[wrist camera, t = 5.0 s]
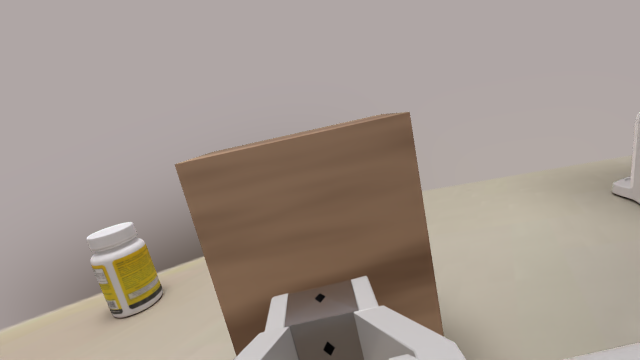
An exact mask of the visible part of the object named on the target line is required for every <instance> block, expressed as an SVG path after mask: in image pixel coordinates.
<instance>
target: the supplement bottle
mask: <svg viewBox="0 0 640 360" xmlns="http://www.w3.org/2000/svg"><path fill="white" fill-rule="evenodd" d="M136 236H137V231H136V229H135V227H134V224H133V223H132V222H126V223H121V224H117V225H114V226H111V227H108V228H105V229H102V230H100V231H97V232H95V233H93V234H91V235H89V236H88V237H87V238H86V240H87V243H88V245H89V249H90V250H91V252H95V254H94V255H93V256H92V257H91V260H90V262H91V266H92V268H93V270H94V272H95V275H96V277H97V280H98V282H99V285H100V287H101V289H102V292H103V294H104V296H105V299H106V301H107V303H108V306H109V308H110V311H111V313H112V315H113V316H115V317H118V318H121V317H127V316H130V315H133V314H136V313H138V312H141V311H143V310H145V309H147V308H148V307H150V306H151V305H153V304H154V303H155V302H156V301H158V299H159V298H160V297H161V295H162V293H163V290H162V286H161V284H160V281H159V278H158V276H157V273H156V270H155V268H154V265H153V263H152V260H151V257H150V255H149V252H148V249H147V246H146V244H145V242H144V241H143V240H142V239H140V238H136Z"/></svg>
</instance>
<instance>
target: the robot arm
mask: <svg viewBox="0 0 640 360" xmlns="http://www.w3.org/2000/svg"><path fill="white" fill-rule="evenodd" d="M612 192H613V193H615V194H618V195H620V196H624V197H627V198H630V199H633V200H635V201H637V202H638V203H639V204H640V112H639V113H638V114H637V116H636V121H635V131H634V143H633V155H632V168H631V176H629V177H626V178H623V179H620V180H618V181H615V182H613V185H612ZM234 360H466V359H465V357H464V355H463V354H462V352H461V351H460V349H459V348H458V346H457V345H456V343H455V342H453V341H451V340H449V339H447V338H445V337H443V336H441V335H439V334H438V333H436V332H434V331H432V330H430V329H428V328H426V327H424V326H422V325H420V324H418V323H416V322H414V321H413V320H411V319H409V318H407V317H405V316H403V315H401V314H399V313H397V312H395V311H393V310H391V309H389V308H388V307H386V306H378V303H377V300H376V298H375V295H374V293H373V290H372V287H371V285H370V282H369V279H368V277H367V276H362V277H359V278H355V279H351V280H347V281H343V282H339V283H335V284H331V285H327V286H323V287H317V288H312V289H307V290H302V291H297V292H292V293H289V294H288V293H287V294H282V295H278V296H274V297H273V298H272V299H271V303H270V308H269V313H268V318H267V322H266V327H265V332H262V333H259V334H258V335H257V336H256V337H255V338H254V339H253V340H252V341H251V342H250V343H249V344H248V345H247V346H246V347H245V348H244V349H243V350H242V352H241V353H240V354H239V355H238V356H237V357H236V358H235V359H234ZM562 360H640V342H638V343H634V344H629V345H625V346H620V347H616V348H611V349H607V350H602V351H598V352H593V353H589V354H584V355H580V356H575V357H571V358H566V359H562Z"/></svg>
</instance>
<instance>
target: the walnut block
mask: <svg viewBox="0 0 640 360" xmlns="http://www.w3.org/2000/svg"><path fill="white" fill-rule="evenodd" d="M175 167H176V170H177V173H178V176H179V179H180V182H181V185H182V188H183V192H184V195H185V198H186V201H187V204H188V207H189V210H190V213H191V216H192V219H193V223H194V226H195V229H196V232H197V235H198V238H199V241H200V244H201V247H202V250H203V253H204V257H205V260H206V263H207V266H208V269H209V272H210V275H211V278H212V281H213V284H214V288H215V291H216V294H217V297H218V300H219V303H220V306H221V309H222V312H223V315H224V318H225V322H226V325H227V328H228V331H229V334H230V337H231V340H232V343H233V346H234V349H235V352H236V356H238V355H239V354H240V353H241V352H242V350H243V349H244V348H245V347H246V346H247V345H248V344H249V343H250V342H251V341H252V340H253V339H254V338H255V337H256V336H257V335H258V334H259V333H262V332H265V327H266V322H267V318H268V313H269V308H270V303H271V299H272V298H273V297H274V296H278V295H282V294H287V293H288V294H289V293H292V292H297V291H302V290H307V289H312V288H317V287H323V286H327V285H331V284H335V283H339V282H343V281H347V280H351V279H355V278H359V277H362V276H367V277H368V279H369V282H370V285H371V287H372V290H373V293H374V295H375V298H376V300H377V303H378V306H386V307H388V308H389V309H391V310H393V311H395V312H397V313H399V314H401V315H403V316H405V317H407V318H409V319H411V320H413V321H414V322H416V323H418V324H420V325H422V326H424V327H426V328H428V329H430V330H432V331H434V332H436V333H438V334H439V335H441V336H443V337H444V335H443V328H442V321H441V315H440V308H439V302H438V295H437V289H436V282H435V276H434V269H433V263H432V256H431V249H430V243H429V236H428V230H427V223H426V217H425V210H424V204H423V197H422V190H421V184H420V178H419V171H418V165H417V158H416V151H415V145H414V138H413V132H412V125H411V118H410V113H409V112H404V113H392V114H381V115H376V116H372V117H368V118H363V119H358V120H354V121H349V122H345V123H340V124H336V125H331V126H327V127H322V128H318V129H313V130H309V131H305V132H300V133H296V134H291V135H287V136H282V137H278V138H273V139H269V140H264V141H260V142H255V143H251V144H246V145H242V146H238V147H233V148H228V149H224V150H219V151H216V152H212V153H208V154H205V155H202V156H199V157H196V158H193V159H190V160H187V161H184V162H181V163H178V164H175Z"/></svg>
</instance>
